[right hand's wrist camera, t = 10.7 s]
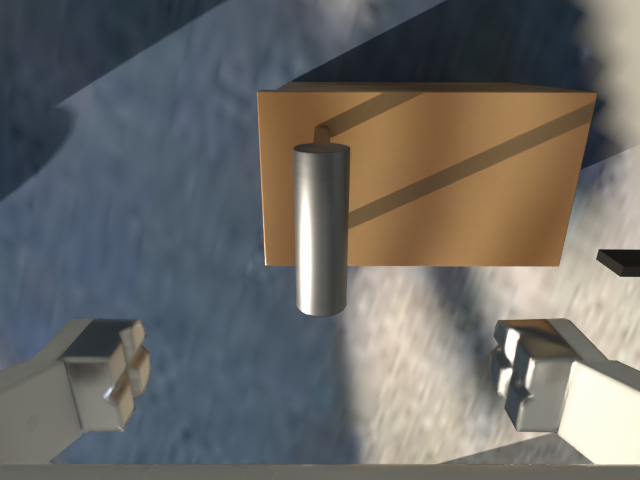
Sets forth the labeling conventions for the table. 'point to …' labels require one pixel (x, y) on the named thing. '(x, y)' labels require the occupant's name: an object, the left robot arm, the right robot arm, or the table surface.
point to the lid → (415, 180)
